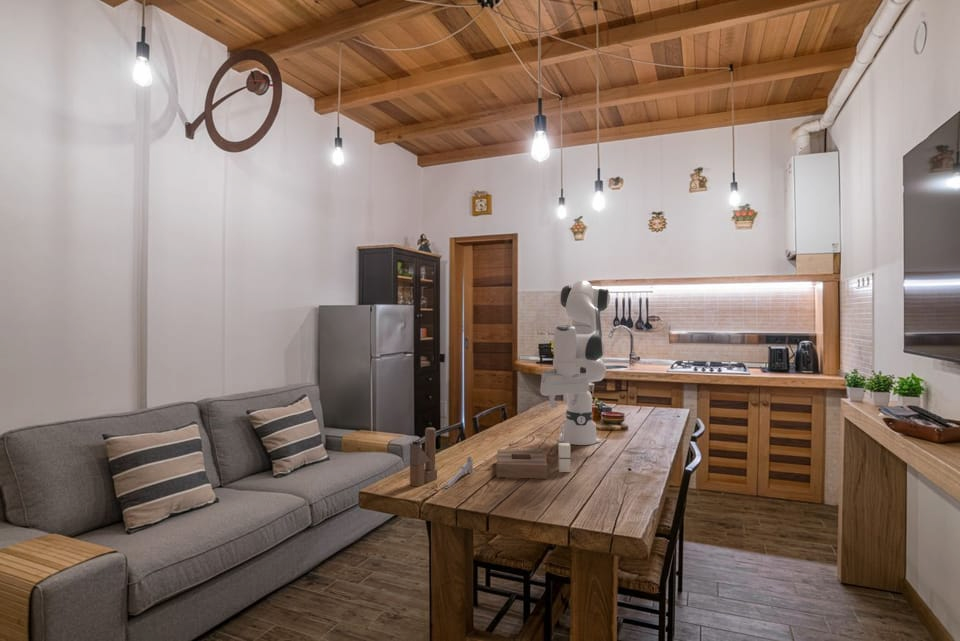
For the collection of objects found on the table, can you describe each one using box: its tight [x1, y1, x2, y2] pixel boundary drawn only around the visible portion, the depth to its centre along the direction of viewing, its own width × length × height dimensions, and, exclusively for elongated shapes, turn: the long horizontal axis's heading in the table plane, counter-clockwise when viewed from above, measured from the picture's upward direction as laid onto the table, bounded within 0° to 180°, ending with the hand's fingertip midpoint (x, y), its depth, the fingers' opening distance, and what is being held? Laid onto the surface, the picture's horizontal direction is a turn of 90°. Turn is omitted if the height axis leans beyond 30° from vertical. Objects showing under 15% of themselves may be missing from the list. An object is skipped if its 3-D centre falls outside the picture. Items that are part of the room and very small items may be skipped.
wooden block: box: [409, 426, 438, 488], centre depth 176 cm, size 4×11×18 cm, turn 147°
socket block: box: [496, 448, 549, 480], centre depth 190 cm, size 20×18×5 cm
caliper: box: [444, 456, 474, 489], centre depth 179 cm, size 20×1×6 cm, turn 156°
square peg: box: [557, 442, 571, 473], centre depth 190 cm, size 4×4×10 cm
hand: (564, 406), depth 189 cm, fingers open, 8 cm apart
